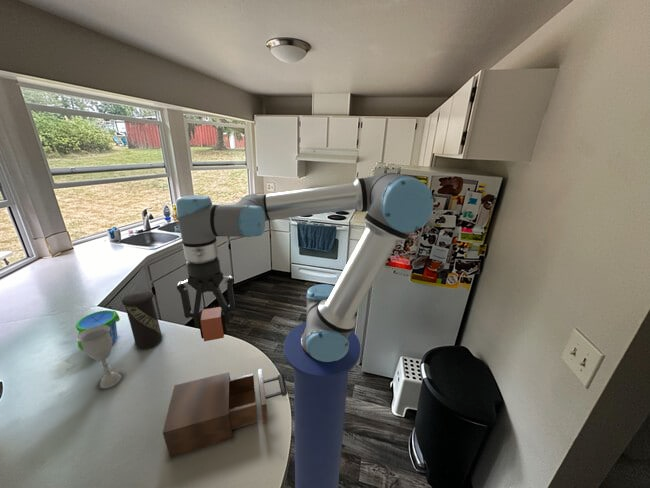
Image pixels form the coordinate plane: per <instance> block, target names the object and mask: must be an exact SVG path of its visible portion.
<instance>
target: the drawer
mask: <svg viewBox="0 0 650 488" xmlns="http://www.w3.org/2000/svg"><path fill="white" fill-rule="evenodd" d="M257 378H258V379H257V380H258V390H259V400H260V401H259V402H260V408H261V417H262V418H261V419H262V424H267V423H268V422H269V420H268V403H267V400H268V399H271V398H276V397H278V396H279V397H280V396H282V397H286V396H287V395H288V390H287V385H286V380H285V375H284V374H283V373H280V374H278V376H275V377H271V378H266V379H264V374H263V368H259V369H257ZM275 381H278V384H279V389H280V391H278V392H274V393H270V394H267V395H266V390H265V384H267V383H271V382H275ZM229 417H230V424H231V430H232V431H233V430H235V429H239V428H243V427H245V426H248V425H249V426H250V425H253V424H255V423H258V410H257V400H256V389H255V377H254V373H253V372H252V373H249V374H248V373H247V374H244V375H241V376H235V377H232V378H231V377H230V379H229Z"/></svg>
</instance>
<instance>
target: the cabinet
mask: <svg viewBox="0 0 650 488" xmlns="http://www.w3.org/2000/svg"><path fill="white" fill-rule="evenodd" d="M229 379H231V375H230V372H229V371H228V372H224V373H220V374H216V375H212V376H207V377H203V378H199V379H194V380H190V381H186V382H182V383H177V384H173V385H174V386H173V390H172V393H171V398H170V402H169V405H168V410H167V414H166V418H165V423H164V427H163V430H162V435H163V438H164V442H165V446H166V450H167V453H168V456H169V458H174V457H177V456H180V455H183V454H186V453H189V452H192V451H196V450H199V449H202V448H207V447H209V446H212V445H215V444H219V443H222V442H225V441H227V440H231V439H233V430H231V424H230V417H229Z"/></svg>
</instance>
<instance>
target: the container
mask: <svg viewBox="0 0 650 488" xmlns="http://www.w3.org/2000/svg"><path fill="white" fill-rule="evenodd" d="M153 298H154V293H153V291H151V290H148V289H138V290H134V291H131V292H128V293H126V294H125V295H124V296H123V297H122V299H121V303H122V305H123V306H124V308H125V312H126V314H127V317H128V321H129V325H130V328H131V332H132V335H133V341H134V343H135V346H136V348H138V349H140V350H144V349H145V350H146V349H150V348H153V347H155V346H157V345H158V344H160V342H162V339H163V334H162V331H161V326H160V323H159V319H158V315H157V312H156V308H155V304H154V301H153Z"/></svg>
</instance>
